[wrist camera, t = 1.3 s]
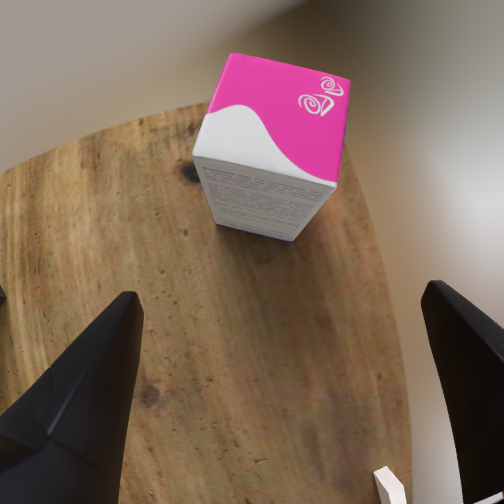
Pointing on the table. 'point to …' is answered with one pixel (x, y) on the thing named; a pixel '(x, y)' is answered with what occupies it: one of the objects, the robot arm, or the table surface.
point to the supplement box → (271, 145)
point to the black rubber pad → (2, 296)
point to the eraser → (389, 487)
